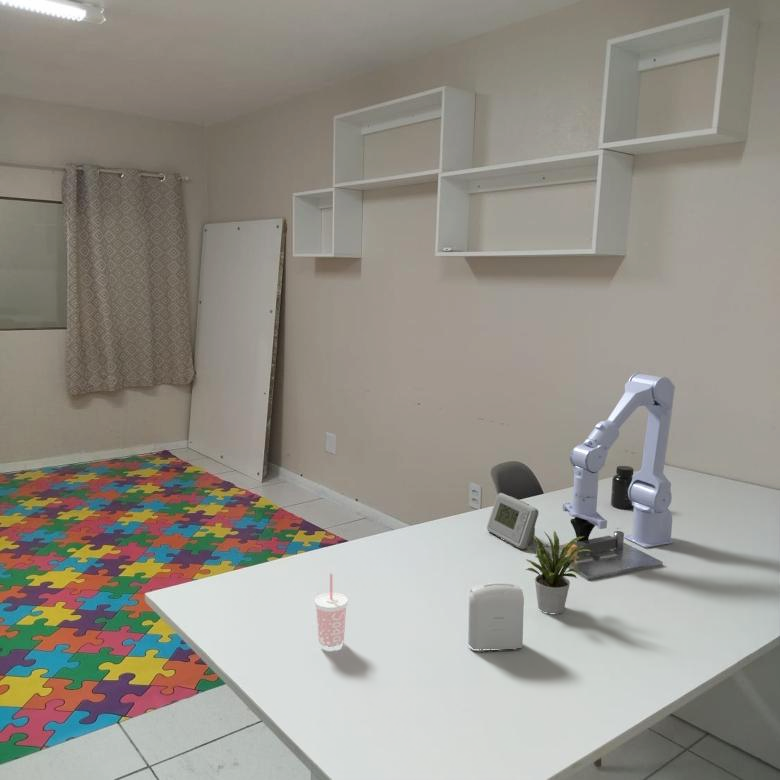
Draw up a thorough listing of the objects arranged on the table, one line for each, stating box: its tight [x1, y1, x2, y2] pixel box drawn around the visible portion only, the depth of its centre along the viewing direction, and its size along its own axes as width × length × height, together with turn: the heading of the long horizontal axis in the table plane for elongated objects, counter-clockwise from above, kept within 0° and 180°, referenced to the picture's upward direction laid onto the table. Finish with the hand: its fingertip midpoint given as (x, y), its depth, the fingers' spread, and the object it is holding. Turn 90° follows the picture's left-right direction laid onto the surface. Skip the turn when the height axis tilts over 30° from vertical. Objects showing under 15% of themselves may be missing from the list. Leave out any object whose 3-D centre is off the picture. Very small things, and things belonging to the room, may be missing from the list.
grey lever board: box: [544, 530, 664, 581], centre depth 174 cm, size 22×18×5 cm
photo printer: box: [467, 582, 525, 650], centre depth 131 cm, size 10×4×12 cm, turn 96°
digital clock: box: [486, 492, 539, 550], centre depth 185 cm, size 16×9×11 cm, turn 16°
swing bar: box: [563, 535, 616, 558], centre depth 174 cm, size 14×3×3 cm, turn 116°
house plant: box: [521, 530, 591, 615], centre depth 146 cm, size 14×14×16 cm
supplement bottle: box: [610, 465, 635, 510], centre depth 213 cm, size 7×7×12 cm
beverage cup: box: [314, 573, 348, 647], centre depth 131 cm, size 6×6×14 cm
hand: (582, 547), depth 176 cm, fingers closed
